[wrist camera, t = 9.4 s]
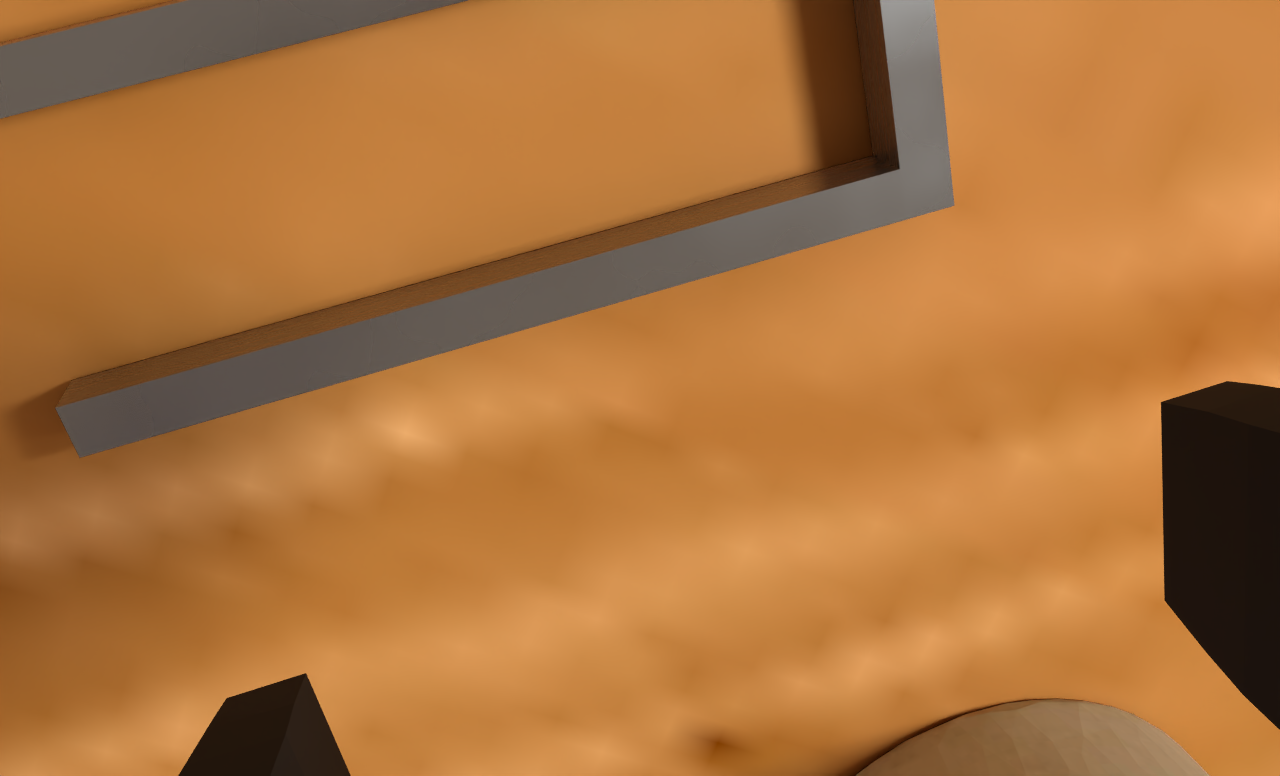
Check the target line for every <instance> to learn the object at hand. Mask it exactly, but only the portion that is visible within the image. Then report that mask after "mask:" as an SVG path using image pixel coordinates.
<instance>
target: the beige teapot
mask: <svg viewBox="0 0 1280 776" xmlns="http://www.w3.org/2000/svg"><path fill="white" fill-rule="evenodd" d="M856 776H1210V775H1209V774H1208V773H1207V772H1206V771H1205V770H1204V769H1203V768H1202V767H1201V766H1200V765H1199V764H1198V763H1197V762H1196V761H1195V760H1194V759H1193V758H1192V757H1191V756H1190V755H1189V754H1188V753H1187V752H1186V751H1185V750H1184V749H1183V748H1182V747H1181V746H1180V745H1179V744H1178V743H1176V742H1175V741H1174V740H1173V739H1172V738H1171V737H1169V736H1168V735H1167V734H1166V733H1165V732H1163V731H1162V730H1160V729H1159V728H1157V727H1155V726H1153V725H1151V724H1150V723H1148V722H1146V721H1144V720H1143V719H1141V718H1139V717H1137V716H1136V715H1134V714H1132V713H1129V712H1126V711H1123V710H1120V709H1118V708H1115V707H1112V706H1107V705H1102V704H1097V703H1093V702H1088V701H1079V700H1066V699H1046V700H1029V701H1021V702H1014V703H1006V704H1002V705H998V706H994V707H991V708H987V709H983V710H980V711H976V712H972V713H969V714H965V715H963V716H960V717H958V718H956V719H953V720H951V721H949V722H946V723H944V724H942V725H939V726H937V727H935V728H932V729H930V730H928V731H926V732H924V733H921V734H919V735H917V736H915V737H913V738H910V739H908V740H906V741H904V742H903V743H901V744H900V745H898V746H897V747H895V748H894V749H892V750H891V751H889V752H888V753H886V754H885V755H883V756H882V757H880V758H879V759H877V760H876V761H874V762H873V763H871V764H870V765H869V766H867V767H866V768H865V769H863V770H862V771H861V772H860V773H858V774H857V775H856Z"/></svg>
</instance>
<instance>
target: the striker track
mask: <svg viewBox="0 0 1280 776" xmlns="http://www.w3.org/2000/svg"><path fill="white" fill-rule="evenodd" d="M463 1H467V0H172V1H168V2H164V3H160V4H156V5H152V6H148V7H144V8H140V9H136V10H131V11H127V12H123V13H119V14H115V15H111V16H107V17H103V18H99V19H95V20H91V21H87V22H83V23H78V24H74V25H70V26H66V27H62V28H58V29H54V30H50V31H46V32H42V33H38V34H34V35H30V36H25V37H21V38H17V39H13V40H9V41H5V42H1V43H0V118H4V117H8V116H12V115H16V114H20V113H24V112H28V111H32V110H36V109H40V108H44V107H48V106H52V105H56V104H60V103H64V102H68V101H71V100H75V99H79V98H83V97H87V96H91V95H95V94H99V93H103V92H107V91H111V90H115V89H119V88H123V87H127V86H131V85H135V84H139V83H143V82H147V81H151V80H155V79H159V78H163V77H166V76H170V75H174V74H178V73H182V72H186V71H190V70H194V69H198V68H202V67H206V66H210V65H214V64H218V63H222V62H226V61H230V60H234V59H238V58H242V57H246V56H250V55H254V54H258V53H262V52H265V51H269V50H273V49H277V48H281V47H285V46H289V45H293V44H297V43H301V42H305V41H309V40H313V39H317V38H321V37H325V36H329V35H333V34H337V33H341V32H345V31H349V30H353V29H357V28H360V27H364V26H368V25H372V24H376V23H380V22H384V21H388V20H392V19H396V18H400V17H404V16H408V15H412V14H416V13H420V12H424V11H428V10H432V9H436V8H440V7H444V6H448V5H452V4H455V3H459V2H463ZM853 4H854V11H855V19H856V27H857V35H858V43H859V51H860V58H861V66H862V74H863V82H864V90H865V97H866V105H867V113H868V121H869V129H870V137H871V144H872V152H873V156H870V157H867V158H863V159H859V160H856V161H852V162H849V163H845V164H842V165H838V166H834V167H831V168H827V169H824V170H820V171H817V172H813V173H809V174H806V175H802V176H799V177H795V178H792V179H788V180H785V181H781V182H777V183H774V184H770V185H767V186H763V187H760V188H756V189H752V190H749V191H745V192H742V193H738V194H735V195H731V196H727V197H724V198H720V199H717V200H713V201H710V202H706V203H702V204H699V205H695V206H692V207H688V208H685V209H681V210H677V211H674V212H670V213H667V214H663V215H660V216H656V217H653V218H649V219H645V220H642V221H638V222H635V223H631V224H628V225H624V226H620V227H617V228H613V229H610V230H606V231H603V232H599V233H595V234H592V235H588V236H585V237H581V238H578V239H574V240H570V241H567V242H563V243H560V244H556V245H553V246H549V247H546V248H542V249H538V250H535V251H531V252H528V253H524V254H521V255H517V256H513V257H510V258H506V259H503V260H499V261H496V262H492V263H488V264H485V265H481V266H478V267H474V268H471V269H467V270H463V271H460V272H456V273H453V274H449V275H446V276H442V277H439V278H435V279H431V280H428V281H424V282H421V283H417V284H414V285H410V286H406V287H403V288H399V289H396V290H392V291H389V292H385V293H381V294H378V295H374V296H371V297H367V298H364V299H360V300H356V301H353V302H349V303H346V304H342V305H339V306H335V307H331V308H328V309H324V310H321V311H317V312H314V313H310V314H307V315H303V316H299V317H296V318H292V319H289V320H285V321H282V322H278V323H274V324H271V325H267V326H264V327H260V328H257V329H253V330H249V331H246V332H242V333H239V334H235V335H232V336H228V337H224V338H221V339H217V340H214V341H210V342H207V343H203V344H200V345H196V346H192V347H189V348H185V349H182V350H178V351H175V352H171V353H167V354H164V355H160V356H157V357H153V358H150V359H146V360H142V361H139V362H135V363H132V364H128V365H125V366H121V367H117V368H114V369H110V370H107V371H103V372H100V373H96V374H93V375H89V376H85V377H82V378H78V379H75V380H71V382H70V384H69V385H68V387H67V389H66V391H65V392H64V394H63V396H62V397H61V399H60V401H59V402H58V404H57V406H56V407H55V409H56V411H57V413H58V415H59V417H60V419H61V421H62V423H63V425H64V427H65V429H66V431H67V433H68V435H69V437H70V439H71V441H72V443H73V445H74V447H75V449H76V451H77V453H78V455H79V457H84V456H87V455H91V454H94V453H98V452H101V451H105V450H108V449H112V448H115V447H119V446H122V445H125V444H129V443H132V442H136V441H139V440H143V439H146V438H150V437H153V436H157V435H160V434H164V433H167V432H171V431H174V430H178V429H181V428H184V427H188V426H191V425H195V424H198V423H202V422H205V421H209V420H212V419H216V418H219V417H223V416H226V415H230V414H233V413H237V412H240V411H243V410H247V409H250V408H254V407H257V406H261V405H264V404H268V403H271V402H275V401H278V400H282V399H285V398H289V397H292V396H295V395H299V394H302V393H306V392H309V391H313V390H316V389H320V388H323V387H327V386H330V385H334V384H337V383H341V382H344V381H348V380H351V379H354V378H358V377H361V376H365V375H368V374H372V373H375V372H379V371H382V370H386V369H389V368H393V367H396V366H400V365H403V364H407V363H410V362H413V361H417V360H420V359H424V358H427V357H431V356H434V355H438V354H441V353H445V352H448V351H452V350H455V349H459V348H462V347H465V346H469V345H472V344H476V343H479V342H483V341H486V340H490V339H493V338H497V337H500V336H504V335H507V334H511V333H514V332H518V331H521V330H524V329H528V328H531V327H535V326H538V325H542V324H545V323H549V322H552V321H556V320H559V319H563V318H566V317H570V316H573V315H576V314H580V313H583V312H587V311H590V310H594V309H597V308H601V307H604V306H608V305H611V304H615V303H618V302H622V301H625V300H629V299H632V298H635V297H639V296H642V295H646V294H649V293H653V292H656V291H660V290H663V289H667V288H670V287H674V286H677V285H681V284H684V283H688V282H691V281H694V280H698V279H701V278H705V277H708V276H712V275H715V274H719V273H722V272H726V271H729V270H733V269H736V268H740V267H743V266H746V265H750V264H753V263H757V262H760V261H764V260H767V259H771V258H774V257H778V256H781V255H785V254H788V253H792V252H795V251H799V250H802V249H805V248H809V247H812V246H816V245H819V244H823V243H826V242H830V241H833V240H837V239H840V238H844V237H847V236H851V235H854V234H858V233H861V232H864V231H868V230H871V229H875V228H878V227H882V226H885V225H889V224H892V223H896V222H899V221H903V220H906V219H910V218H913V217H916V216H920V215H923V214H927V213H930V212H934V211H937V210H941V209H944V208H948V207H951V206H954V198H953V188H952V178H951V168H950V157H949V147H948V137H947V127H946V117H945V107H944V96H943V86H942V76H941V66H940V56H939V45H938V35H937V25H936V15H935V5H934V0H853Z"/></svg>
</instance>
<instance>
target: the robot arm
mask: <svg viewBox="0 0 1280 776" xmlns="http://www.w3.org/2000/svg"><path fill="white" fill-rule="evenodd" d="M1161 423H1162V479H1163V534H1164V589H1165V601H1166V603H1167V604H1168V605H1169V606H1170V608H1171V609H1172V610H1173V611H1174V613H1175V614H1176V615H1177V616H1178V618H1179V619H1180V620H1181V621H1182V623H1183V624H1184V625H1185V626H1186V628H1187V629H1188V630H1189V631H1190V633H1191V634H1192V635H1193V636H1194V638H1195V639H1196V640H1197V641H1198V643H1199V644H1200V645H1201V646H1202V648H1203V649H1204V650H1205V651H1206V652H1207V654H1208V655H1209V656H1210V657H1211V658H1212V659H1213V661H1214V662H1215V663H1216V664H1217V665H1218V666H1219V667H1220V669H1221V670H1222V671H1223V672H1224V673H1225V674H1226V676H1227V677H1228V678H1229V679H1230V680H1231V681H1232V682H1233V684H1234V685H1235V686H1236V687H1237V688H1238V689H1239V691H1240V692H1241V693H1242V694H1243V695H1244V696H1245V697H1246V698H1247V699H1248V700H1249V701H1250V702H1251V703H1252V704H1253V705H1254V706H1255V707H1256V708H1257V709H1258V710H1260V711H1261V712H1262V713H1263V714H1264V715H1265V716H1266V717H1267V718H1268V719H1269V720H1270V721H1271V722H1272V723H1273V724H1274V725H1275V726H1276V727H1277V728H1279V729H1280V388H1275V387H1269V386H1262V385H1255V384H1247V383H1238V382H1229V381H1226V382H1223V383H1220V384H1217V385H1214V386H1211V387H1207V388H1204V389H1201V390H1198V391H1195V392H1192V393H1189V394H1185V395H1182V396H1179V397H1176V398H1173V399H1170V400H1166V401H1163V402H1161ZM179 776H350V773H349V771H348V769H347V766H346V764H345V762H344V760H343V757H342V755H341V753H340V750H339V748H338V746H337V743H336V741H335V739H334V737H333V734H332V732H331V730H330V727H329V725H328V723H327V720H326V718H325V716H324V714H323V711H322V709H321V707H320V704H319V702H318V700H317V697H316V695H315V693H314V691H313V688H312V686H311V684H310V681H309V679H308V677H307V674H306V673H305V674H302V675H299V676H296V677H292V678H289V679H286V680H283V681H280V682H277V683H274V684H270V685H267V686H264V687H261V688H258V689H255V690H251V691H248V692H245V693H242V694H239V695H236V696H233V697H229V698H227V699H226V700H225V702H224V703H223V705H222V706H221V708H220V709H219V711H218V712H217V714H216V715H215V717H214V719H213V720H212V722H211V723H210V725H209V727H208V728H207V730H206V731H205V733H204V735H203V736H202V738H201V740H200V741H199V743H198V744H197V746H196V748H195V749H194V751H193V753H192V754H191V756H190V758H189V759H188V761H187V763H186V764H185V766H184V767H183V769H182V771H181V772H180V774H179Z"/></svg>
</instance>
